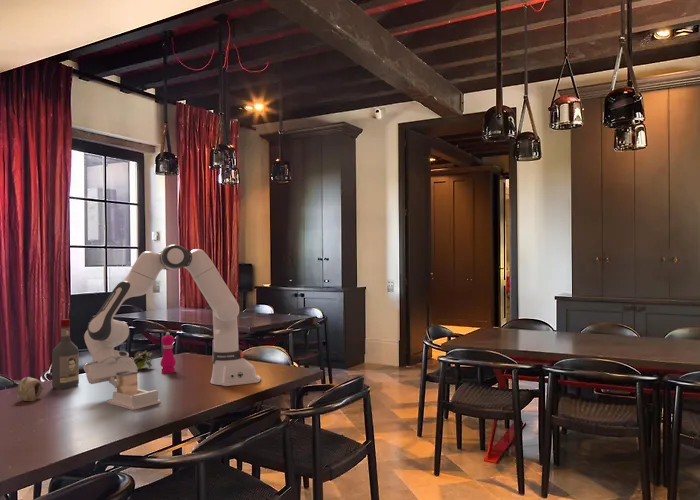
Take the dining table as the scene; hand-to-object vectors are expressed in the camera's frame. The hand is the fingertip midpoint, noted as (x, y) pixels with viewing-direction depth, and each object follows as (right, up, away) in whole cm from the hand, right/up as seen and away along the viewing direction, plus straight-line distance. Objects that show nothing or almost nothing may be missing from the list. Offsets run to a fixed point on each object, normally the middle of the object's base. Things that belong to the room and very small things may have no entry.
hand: (119, 386), depth 220 cm
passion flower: (-13, -6, +58) cm, 60 cm away
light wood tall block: (+4, -4, -3) cm, 7 cm away
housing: (+8, -5, -6) cm, 11 cm away
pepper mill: (+3, -6, +51) cm, 51 cm away
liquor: (-34, -6, +22) cm, 41 cm away
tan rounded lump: (-37, -6, +1) cm, 37 cm away
